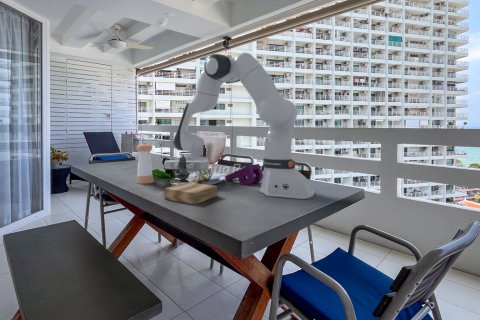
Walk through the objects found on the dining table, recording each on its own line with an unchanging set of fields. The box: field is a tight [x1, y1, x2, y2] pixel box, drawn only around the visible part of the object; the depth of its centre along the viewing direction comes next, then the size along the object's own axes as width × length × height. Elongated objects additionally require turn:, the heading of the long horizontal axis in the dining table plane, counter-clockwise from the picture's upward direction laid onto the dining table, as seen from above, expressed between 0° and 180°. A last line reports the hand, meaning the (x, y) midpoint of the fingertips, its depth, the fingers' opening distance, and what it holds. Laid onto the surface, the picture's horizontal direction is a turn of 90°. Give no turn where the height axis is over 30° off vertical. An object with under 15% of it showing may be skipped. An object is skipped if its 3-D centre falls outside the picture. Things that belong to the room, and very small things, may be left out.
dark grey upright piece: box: [175, 154, 191, 184], centre depth 119 cm, size 6×6×12 cm
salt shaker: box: [136, 142, 154, 185], centre depth 130 cm, size 7×7×19 cm
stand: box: [163, 181, 218, 205], centre depth 103 cm, size 14×14×4 cm
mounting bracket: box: [224, 163, 263, 187], centre depth 135 cm, size 9×8×18 cm
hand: (182, 166), depth 118 cm, fingers closed on dark grey upright piece, 4 cm apart
